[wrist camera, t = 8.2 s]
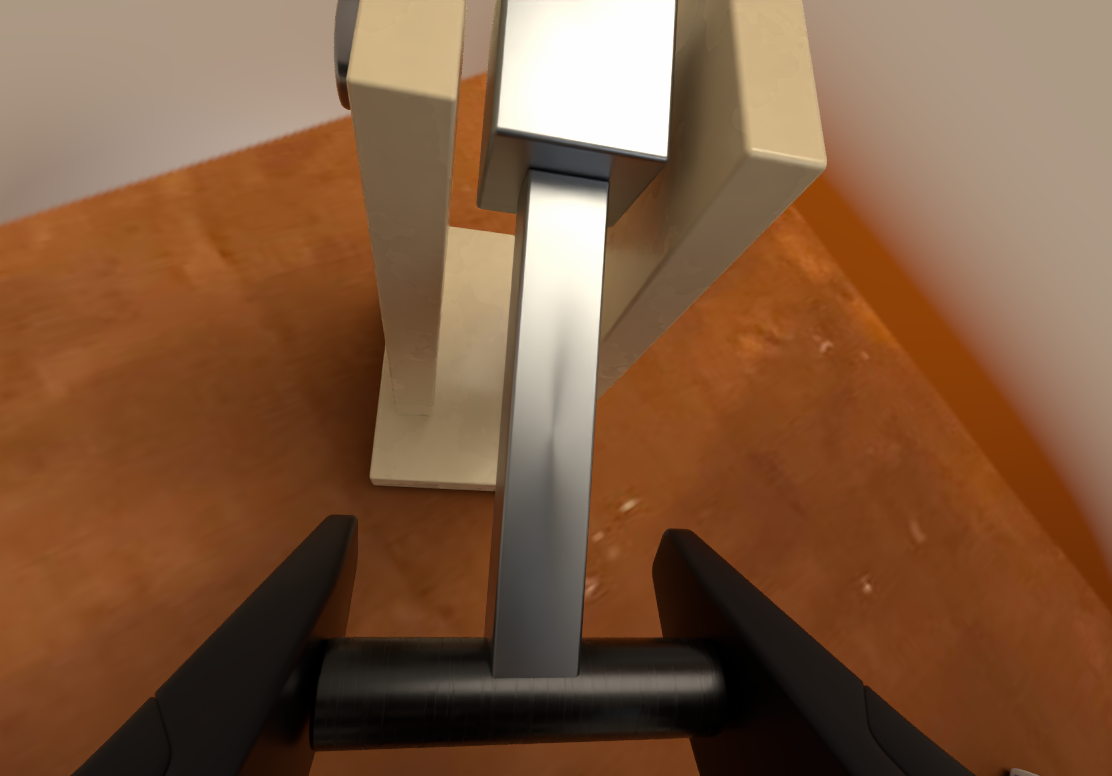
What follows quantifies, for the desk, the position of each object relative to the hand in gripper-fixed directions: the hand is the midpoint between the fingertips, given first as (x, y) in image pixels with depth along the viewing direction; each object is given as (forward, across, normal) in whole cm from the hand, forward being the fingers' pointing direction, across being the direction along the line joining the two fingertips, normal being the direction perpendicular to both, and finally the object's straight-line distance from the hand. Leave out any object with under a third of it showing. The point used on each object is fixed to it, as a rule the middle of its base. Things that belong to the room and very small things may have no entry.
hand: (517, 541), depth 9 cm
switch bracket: (+10, 0, +2) cm, 10 cm away
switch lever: (+1, 0, -3) cm, 3 cm away
